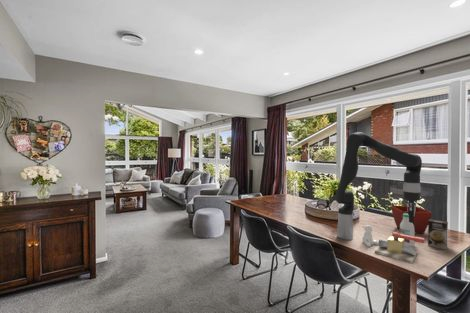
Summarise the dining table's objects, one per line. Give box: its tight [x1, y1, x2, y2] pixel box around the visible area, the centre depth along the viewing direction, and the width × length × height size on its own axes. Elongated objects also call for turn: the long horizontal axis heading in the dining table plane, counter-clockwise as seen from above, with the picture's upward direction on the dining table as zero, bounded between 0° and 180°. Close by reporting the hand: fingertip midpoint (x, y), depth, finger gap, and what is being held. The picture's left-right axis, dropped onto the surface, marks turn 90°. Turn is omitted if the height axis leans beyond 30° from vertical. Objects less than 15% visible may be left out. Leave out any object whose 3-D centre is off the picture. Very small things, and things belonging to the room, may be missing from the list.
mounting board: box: [374, 246, 419, 264], centre depth 136 cm, size 18×16×2 cm
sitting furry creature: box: [362, 224, 379, 247], centre depth 151 cm, size 10×9×12 cm
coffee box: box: [427, 218, 449, 250], centre depth 146 cm, size 9×6×16 cm
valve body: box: [377, 236, 416, 256], centre depth 136 cm, size 17×7×7 cm, turn 44°
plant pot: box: [390, 205, 432, 234], centre depth 176 cm, size 19×19×17 cm
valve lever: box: [391, 231, 426, 244], centre depth 132 cm, size 15×4×3 cm, turn 43°
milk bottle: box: [399, 213, 416, 248], centre depth 148 cm, size 8×8×20 cm
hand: (411, 222), depth 126 cm, fingers closed
